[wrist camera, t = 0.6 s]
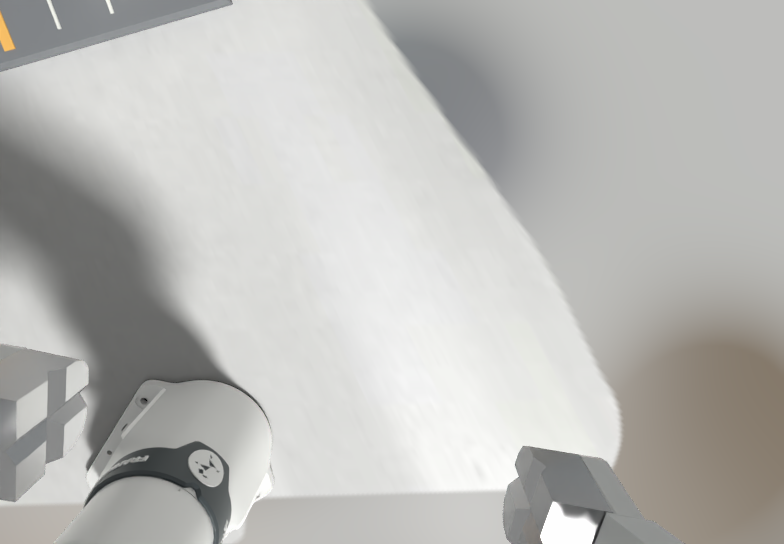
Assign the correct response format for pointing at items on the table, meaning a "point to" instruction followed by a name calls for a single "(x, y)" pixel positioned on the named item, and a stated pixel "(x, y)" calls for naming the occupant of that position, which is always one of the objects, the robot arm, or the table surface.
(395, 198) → the table surface
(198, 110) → the table surface
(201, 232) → the table surface
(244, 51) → the table surface
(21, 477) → the robot arm
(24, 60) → the console board
